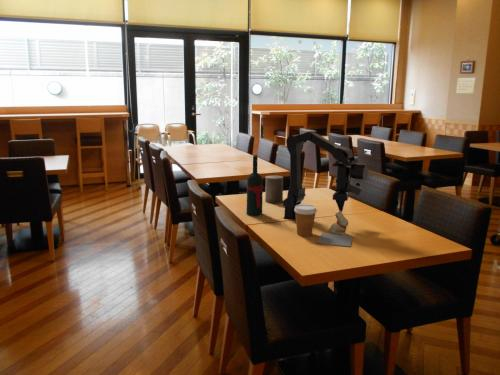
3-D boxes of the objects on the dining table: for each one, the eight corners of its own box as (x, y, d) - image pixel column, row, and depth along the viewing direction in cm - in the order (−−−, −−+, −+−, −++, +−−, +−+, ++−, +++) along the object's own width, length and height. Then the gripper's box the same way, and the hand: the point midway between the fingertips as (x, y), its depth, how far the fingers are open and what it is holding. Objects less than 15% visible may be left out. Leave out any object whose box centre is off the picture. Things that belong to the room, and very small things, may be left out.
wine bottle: (251, 218, 211) (252, 155, 204) (244, 212, 220) (244, 152, 214) (266, 216, 214) (267, 155, 207) (258, 211, 223) (259, 152, 216)
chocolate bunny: (338, 236, 186) (339, 213, 184) (327, 231, 193) (328, 209, 191) (348, 234, 189) (350, 212, 186) (337, 229, 195) (339, 207, 193)
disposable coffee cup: (301, 238, 183) (302, 210, 180) (289, 232, 191) (290, 205, 188) (320, 235, 187) (321, 208, 184) (307, 229, 195) (308, 203, 192)
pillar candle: (283, 203, 238) (284, 176, 235) (265, 203, 239) (265, 175, 236) (282, 199, 248) (282, 173, 245) (264, 199, 248) (265, 172, 245)
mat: (317, 243, 177) (317, 242, 177) (321, 233, 189) (321, 232, 189) (350, 247, 174) (350, 246, 173) (352, 237, 186) (352, 236, 186)
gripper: (360, 182, 182) (358, 218, 185) (363, 174, 199) (360, 207, 203) (333, 180, 185) (331, 216, 189) (338, 172, 203) (336, 205, 206)
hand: (341, 211), depth 196 cm, fingers closed
